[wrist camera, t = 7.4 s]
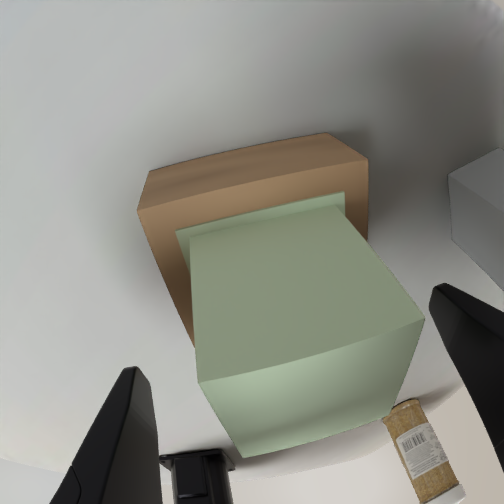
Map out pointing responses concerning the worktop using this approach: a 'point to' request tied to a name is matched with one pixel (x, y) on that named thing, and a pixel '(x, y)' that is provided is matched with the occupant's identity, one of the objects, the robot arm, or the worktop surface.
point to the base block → (246, 198)
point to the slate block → (480, 212)
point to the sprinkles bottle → (423, 455)
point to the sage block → (297, 329)
